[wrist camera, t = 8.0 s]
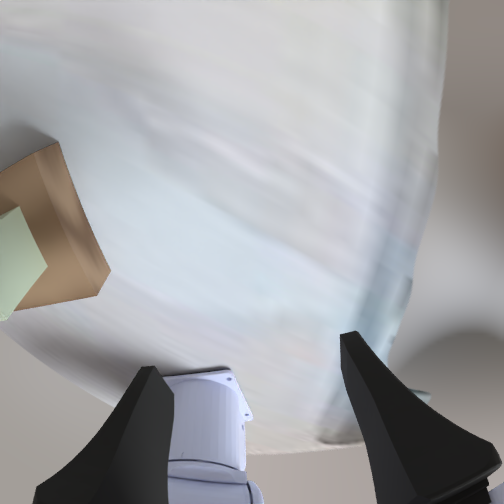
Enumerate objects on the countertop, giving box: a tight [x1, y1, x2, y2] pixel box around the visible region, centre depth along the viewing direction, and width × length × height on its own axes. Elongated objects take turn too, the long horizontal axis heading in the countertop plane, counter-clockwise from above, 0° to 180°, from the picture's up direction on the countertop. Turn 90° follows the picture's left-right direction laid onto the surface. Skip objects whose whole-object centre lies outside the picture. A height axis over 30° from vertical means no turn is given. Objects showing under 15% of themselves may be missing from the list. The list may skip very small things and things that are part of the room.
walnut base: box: [0, 142, 111, 311], centre depth 18 cm, size 10×10×3 cm
